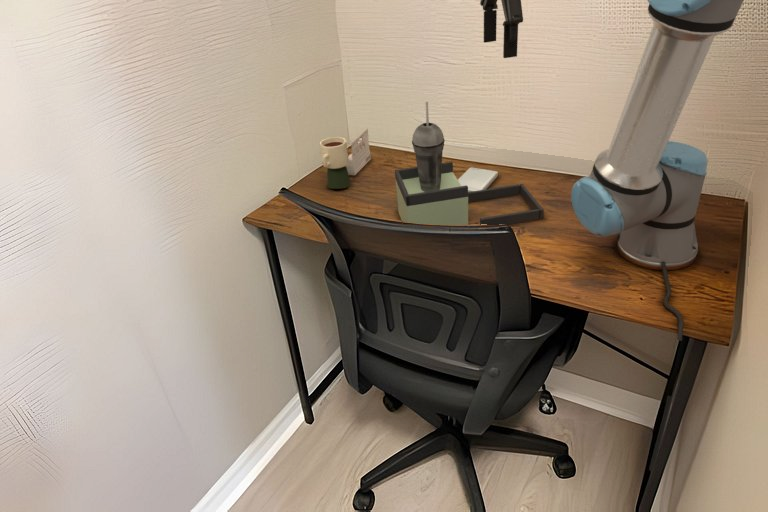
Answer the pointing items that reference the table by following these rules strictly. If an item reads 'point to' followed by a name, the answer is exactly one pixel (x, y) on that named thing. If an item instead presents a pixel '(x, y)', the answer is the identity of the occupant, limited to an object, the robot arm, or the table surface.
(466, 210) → the tray
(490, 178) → the hard drive
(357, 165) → the ink cartridge box
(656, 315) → the table surface
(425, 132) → the beverage cup
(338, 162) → the character mug
